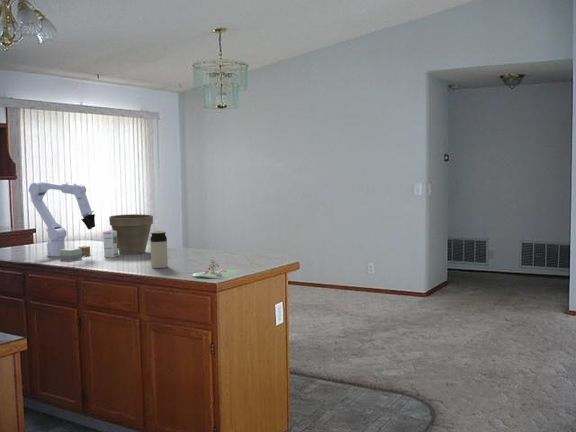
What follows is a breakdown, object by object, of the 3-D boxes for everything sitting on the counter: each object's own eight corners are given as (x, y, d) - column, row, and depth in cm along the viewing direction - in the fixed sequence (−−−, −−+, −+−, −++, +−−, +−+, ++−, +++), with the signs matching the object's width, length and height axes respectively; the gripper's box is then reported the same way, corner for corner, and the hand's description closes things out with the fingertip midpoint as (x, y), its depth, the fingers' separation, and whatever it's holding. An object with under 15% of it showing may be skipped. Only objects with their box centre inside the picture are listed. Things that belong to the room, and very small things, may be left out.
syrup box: (113, 257, 353) (112, 231, 351) (103, 257, 354) (102, 231, 353) (118, 255, 358) (117, 230, 357) (108, 255, 359) (107, 230, 358)
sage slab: (60, 255, 346) (59, 249, 346) (71, 253, 353) (71, 247, 353) (70, 256, 342) (70, 250, 342) (81, 253, 349) (81, 248, 349)
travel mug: (168, 267, 313) (167, 231, 311) (152, 269, 310) (150, 232, 309) (166, 265, 320) (165, 230, 319) (150, 266, 318) (149, 231, 316)
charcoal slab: (60, 260, 346) (60, 255, 346) (71, 258, 353) (71, 253, 353) (71, 261, 343) (71, 256, 342) (82, 259, 350) (81, 253, 349)
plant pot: (161, 252, 366) (159, 215, 364) (119, 257, 352) (118, 218, 350) (144, 248, 387) (143, 213, 385) (104, 252, 373) (103, 215, 371)
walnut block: (78, 255, 361) (78, 247, 361) (84, 254, 365) (83, 246, 365) (84, 256, 359) (84, 247, 359) (90, 255, 363) (89, 246, 363)
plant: (217, 269, 309) (217, 251, 308) (251, 272, 298) (251, 253, 297) (182, 277, 288) (182, 258, 288) (217, 281, 277) (217, 261, 276)
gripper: (93, 201, 353) (101, 224, 353) (88, 205, 365) (95, 227, 366) (81, 204, 349) (89, 228, 349) (76, 208, 362) (83, 231, 362)
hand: (91, 228), depth 357 cm, fingers open, 7 cm apart
